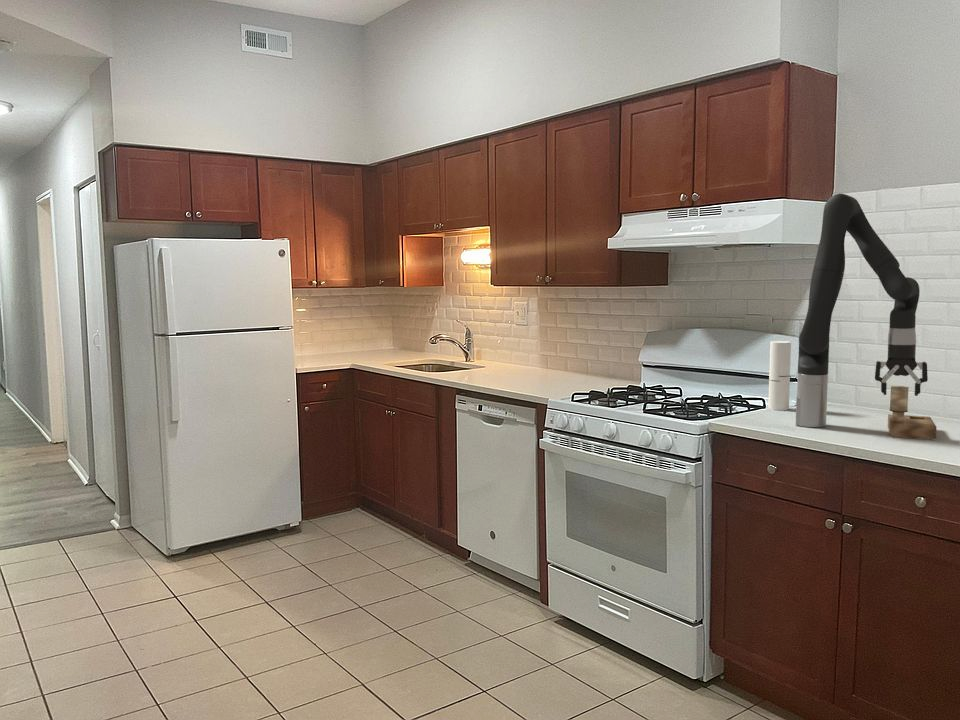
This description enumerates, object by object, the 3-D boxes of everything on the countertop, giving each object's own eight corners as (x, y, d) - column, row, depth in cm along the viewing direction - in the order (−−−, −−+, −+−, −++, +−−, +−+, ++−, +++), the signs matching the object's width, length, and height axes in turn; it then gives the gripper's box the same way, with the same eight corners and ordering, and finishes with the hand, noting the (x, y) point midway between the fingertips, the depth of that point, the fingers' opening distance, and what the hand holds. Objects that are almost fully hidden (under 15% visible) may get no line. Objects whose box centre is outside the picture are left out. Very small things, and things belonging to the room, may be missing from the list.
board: (890, 436, 241) (891, 423, 241) (887, 426, 257) (888, 414, 257) (935, 439, 236) (936, 426, 236) (929, 429, 252) (930, 416, 252)
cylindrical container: (790, 410, 288) (792, 342, 286) (769, 410, 290) (772, 342, 287) (786, 407, 295) (789, 341, 293) (766, 406, 297) (769, 341, 294)
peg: (889, 423, 242) (891, 387, 241) (888, 420, 247) (890, 385, 246) (907, 424, 240) (909, 388, 239) (906, 421, 245) (908, 386, 243)
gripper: (927, 342, 241) (925, 394, 243) (875, 341, 247) (873, 392, 249) (929, 344, 235) (928, 397, 236) (876, 343, 240) (875, 396, 242)
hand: (900, 395), depth 243 cm, fingers open, 8 cm apart
